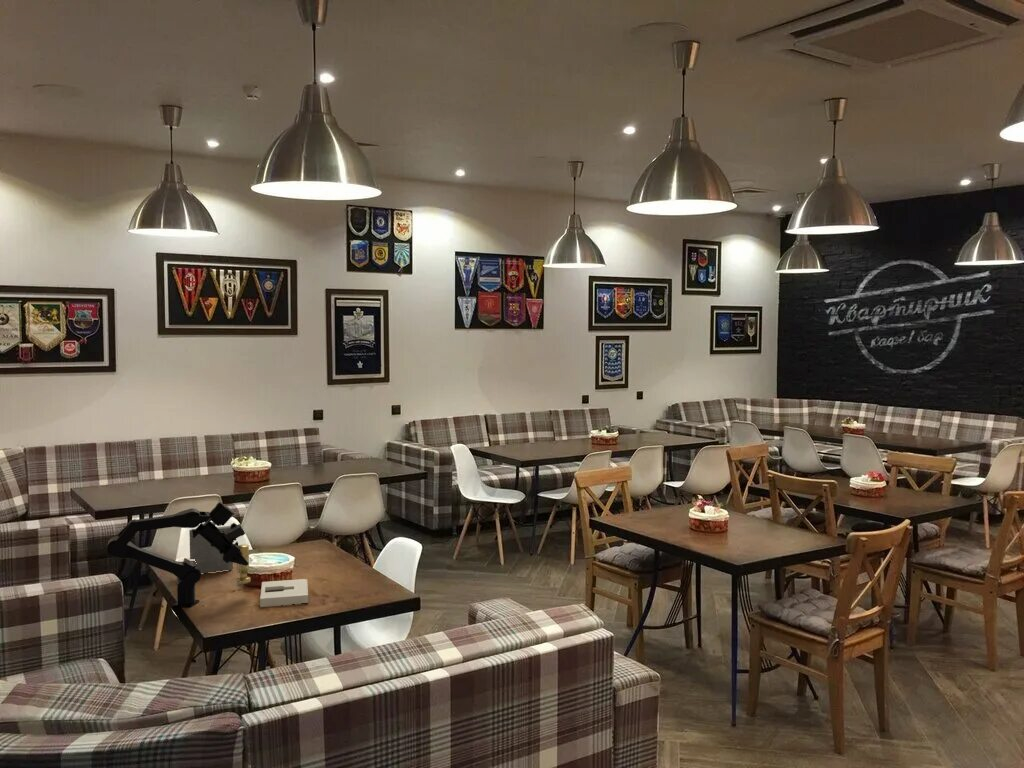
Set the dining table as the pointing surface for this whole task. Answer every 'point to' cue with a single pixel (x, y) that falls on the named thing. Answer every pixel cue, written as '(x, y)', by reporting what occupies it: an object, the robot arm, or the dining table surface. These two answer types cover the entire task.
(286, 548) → the dining table surface
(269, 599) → the keyhole plate
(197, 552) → the hip flask
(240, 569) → the brass peg
